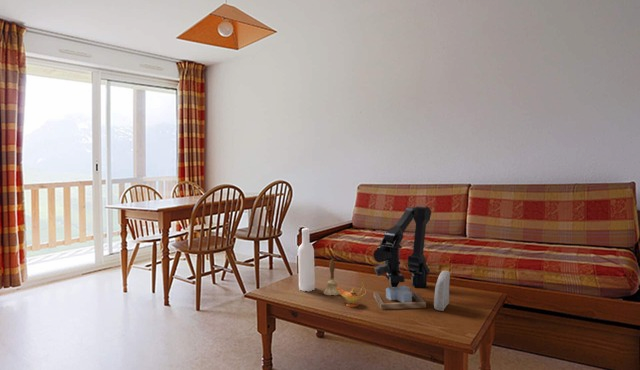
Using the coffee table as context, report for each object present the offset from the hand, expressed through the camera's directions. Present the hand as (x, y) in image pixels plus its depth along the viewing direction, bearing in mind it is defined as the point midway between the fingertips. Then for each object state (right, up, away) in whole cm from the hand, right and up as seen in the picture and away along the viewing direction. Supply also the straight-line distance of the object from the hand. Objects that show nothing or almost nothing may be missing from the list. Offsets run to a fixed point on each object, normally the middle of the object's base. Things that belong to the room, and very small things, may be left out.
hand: (393, 292), depth 177 cm
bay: (+1, -2, -9) cm, 9 cm away
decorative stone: (+17, -2, -17) cm, 24 cm away
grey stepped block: (+2, -2, -6) cm, 6 cm away
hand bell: (-28, -2, +5) cm, 29 cm away
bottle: (-40, -2, +12) cm, 42 cm away
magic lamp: (-21, -2, -11) cm, 24 cm away
